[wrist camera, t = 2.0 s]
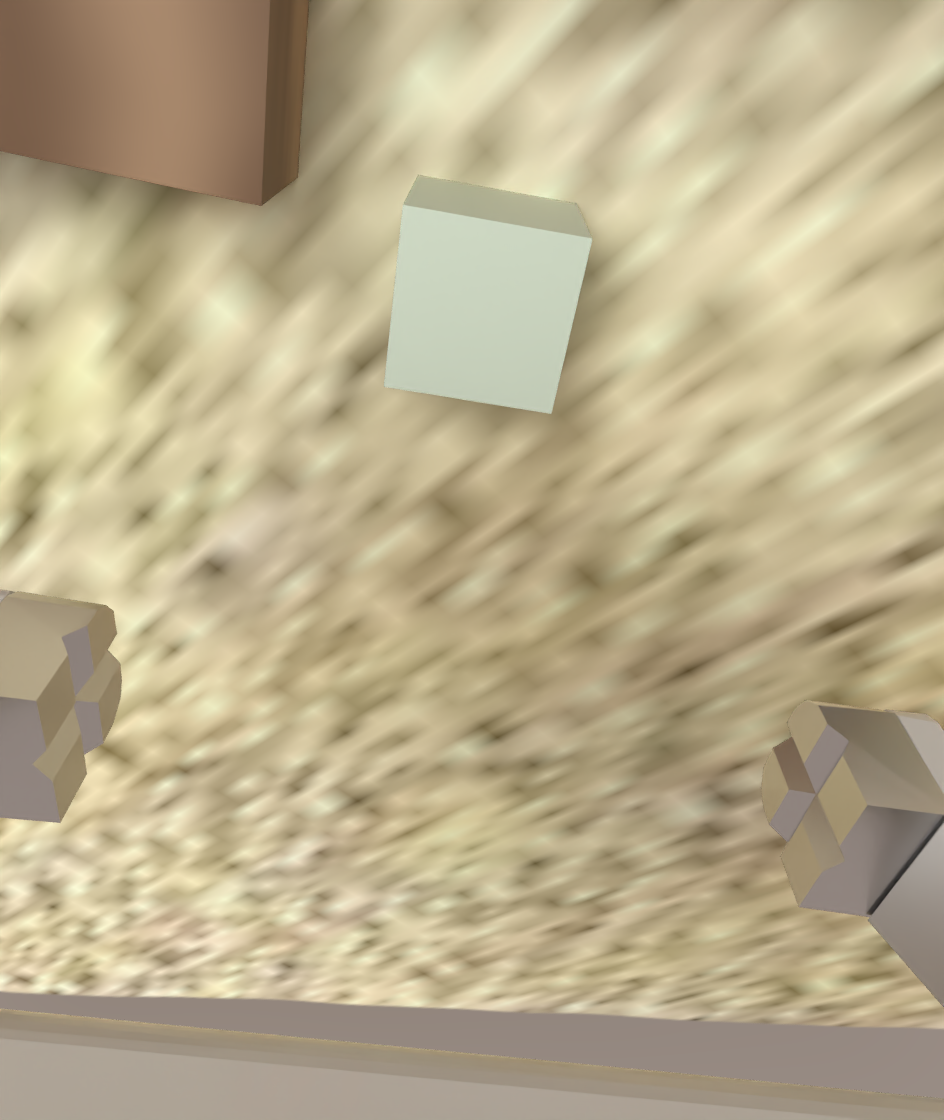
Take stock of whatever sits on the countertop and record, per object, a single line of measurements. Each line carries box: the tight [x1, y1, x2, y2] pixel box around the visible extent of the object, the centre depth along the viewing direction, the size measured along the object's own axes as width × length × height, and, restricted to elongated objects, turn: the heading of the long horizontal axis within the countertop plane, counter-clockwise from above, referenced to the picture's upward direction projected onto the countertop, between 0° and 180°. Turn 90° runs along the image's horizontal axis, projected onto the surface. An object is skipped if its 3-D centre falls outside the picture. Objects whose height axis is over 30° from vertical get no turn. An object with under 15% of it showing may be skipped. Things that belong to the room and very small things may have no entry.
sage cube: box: [384, 175, 592, 414], centre depth 24 cm, size 5×5×5 cm
